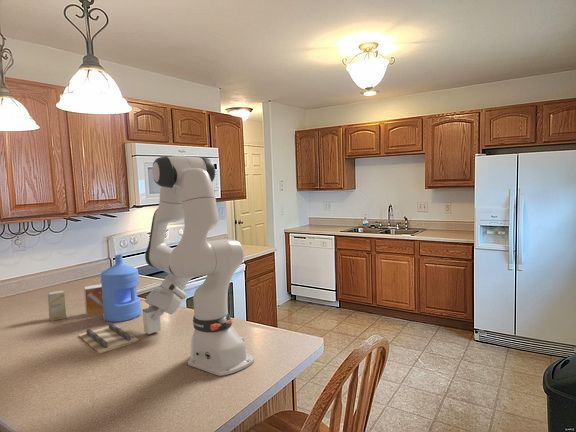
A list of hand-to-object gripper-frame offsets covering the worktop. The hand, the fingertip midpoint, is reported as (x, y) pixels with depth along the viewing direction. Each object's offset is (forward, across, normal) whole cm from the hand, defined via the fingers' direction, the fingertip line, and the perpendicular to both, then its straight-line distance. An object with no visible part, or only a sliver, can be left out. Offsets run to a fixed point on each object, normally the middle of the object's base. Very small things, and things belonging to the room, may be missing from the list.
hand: (149, 318), depth 151 cm
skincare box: (+19, -51, -10) cm, 55 cm away
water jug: (+4, -30, +5) cm, 31 cm away
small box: (+9, -44, 0) cm, 45 cm away
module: (+3, 0, +4) cm, 5 cm away
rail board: (+14, -8, -5) cm, 17 cm away
